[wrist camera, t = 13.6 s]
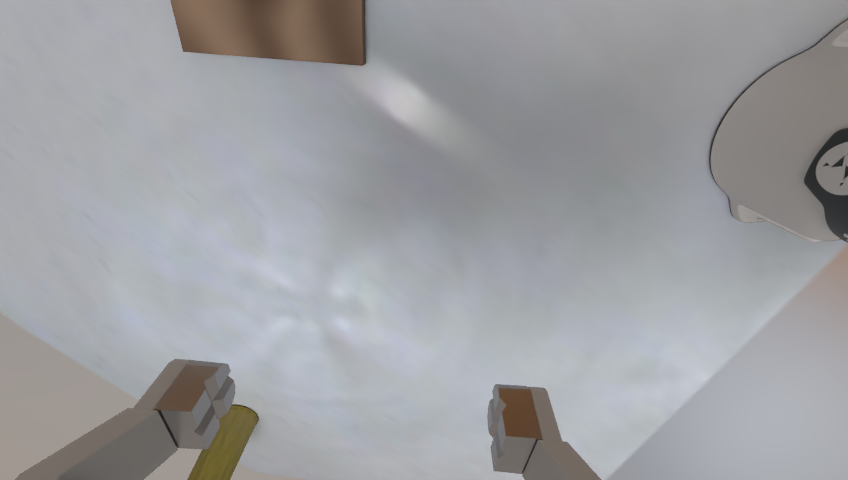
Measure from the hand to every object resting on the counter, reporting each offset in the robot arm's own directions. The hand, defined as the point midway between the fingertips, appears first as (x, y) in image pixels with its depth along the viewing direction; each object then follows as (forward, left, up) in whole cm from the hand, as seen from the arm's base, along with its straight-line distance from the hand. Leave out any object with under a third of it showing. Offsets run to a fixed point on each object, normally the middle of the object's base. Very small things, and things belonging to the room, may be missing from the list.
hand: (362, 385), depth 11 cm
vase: (+26, +48, -28) cm, 61 cm away
